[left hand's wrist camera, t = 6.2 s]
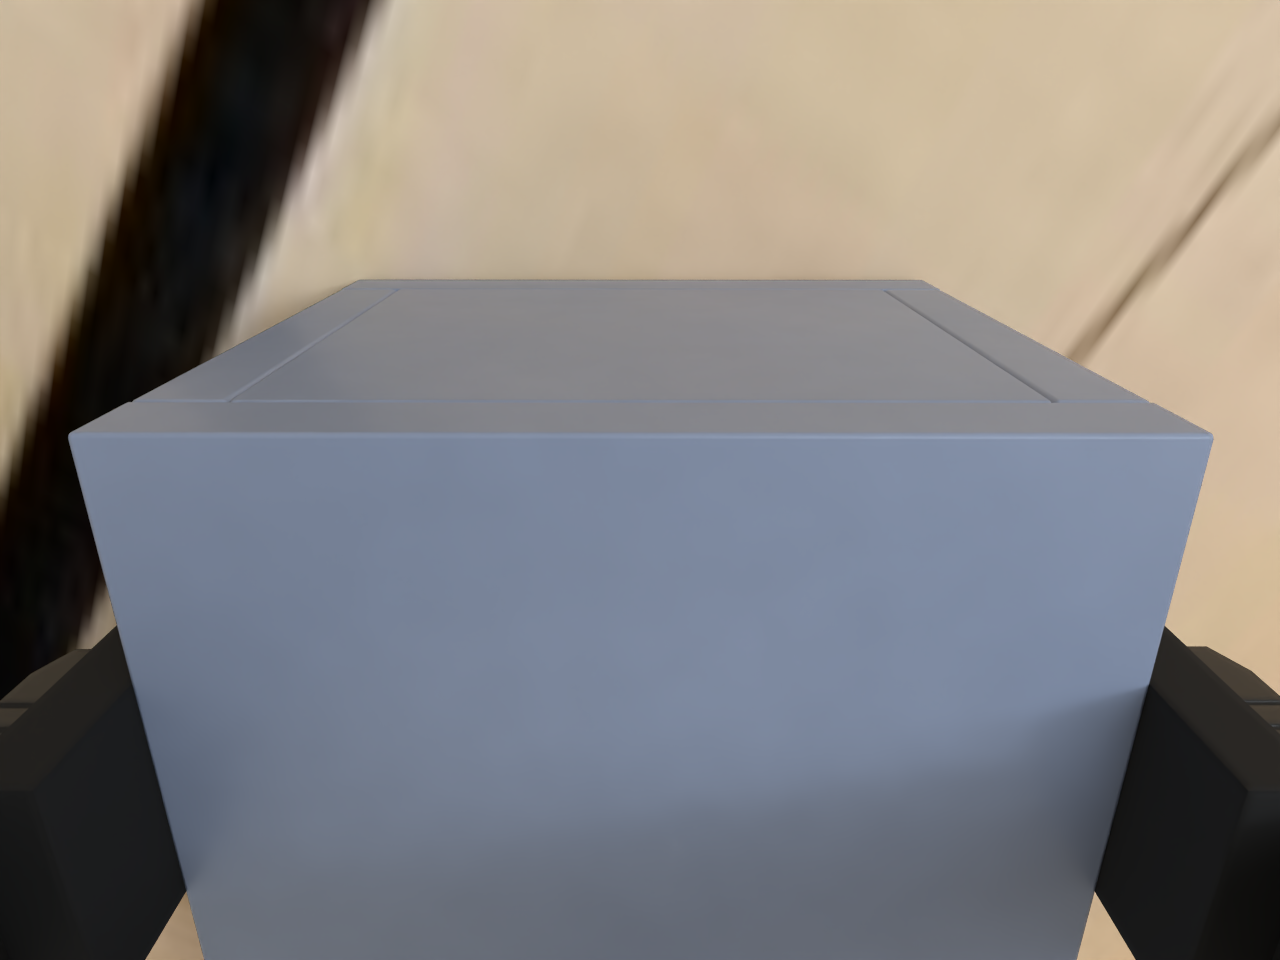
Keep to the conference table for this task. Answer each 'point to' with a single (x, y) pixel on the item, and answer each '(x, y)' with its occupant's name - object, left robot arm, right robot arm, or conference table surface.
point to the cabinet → (640, 621)
